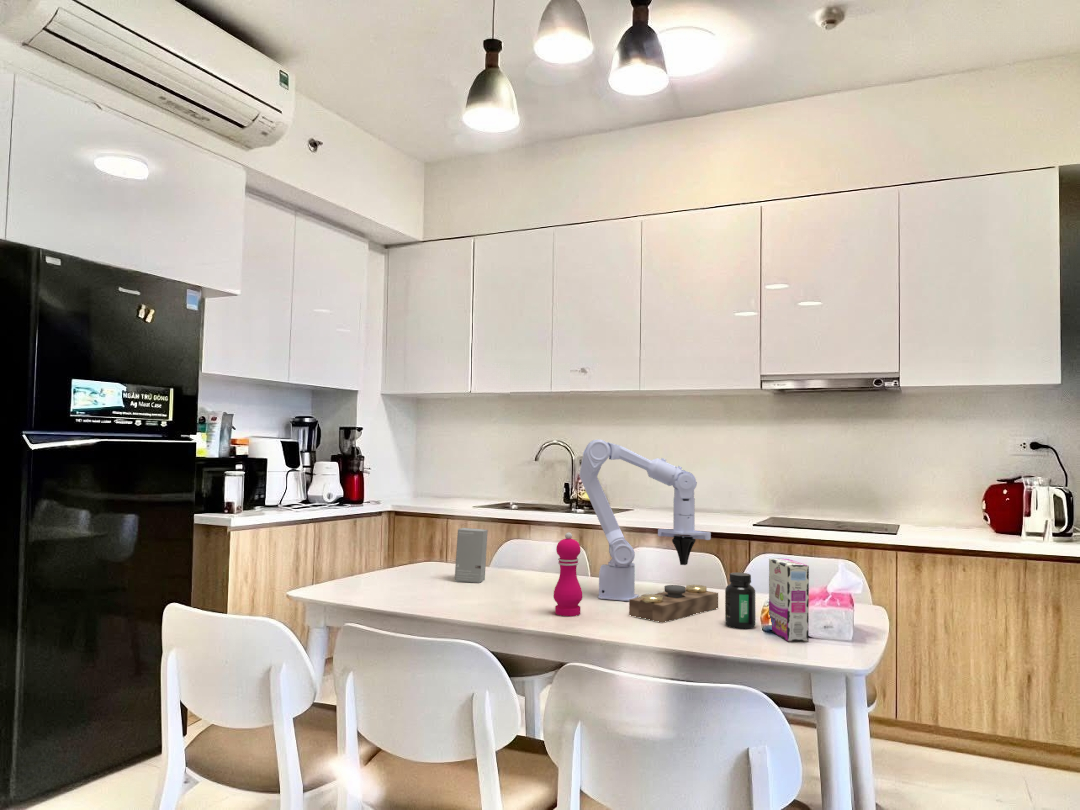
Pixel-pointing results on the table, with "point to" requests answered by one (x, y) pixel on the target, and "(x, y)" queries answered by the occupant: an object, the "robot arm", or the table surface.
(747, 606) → the supplement bottle
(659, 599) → the near brass knob
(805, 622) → the candy bar box
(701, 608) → the control panel
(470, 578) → the skincare box
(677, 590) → the middle black knob
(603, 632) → the table surface
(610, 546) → the robot arm
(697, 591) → the far brass knob
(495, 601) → the table surface
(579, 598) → the pepper mill
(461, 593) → the table surface
